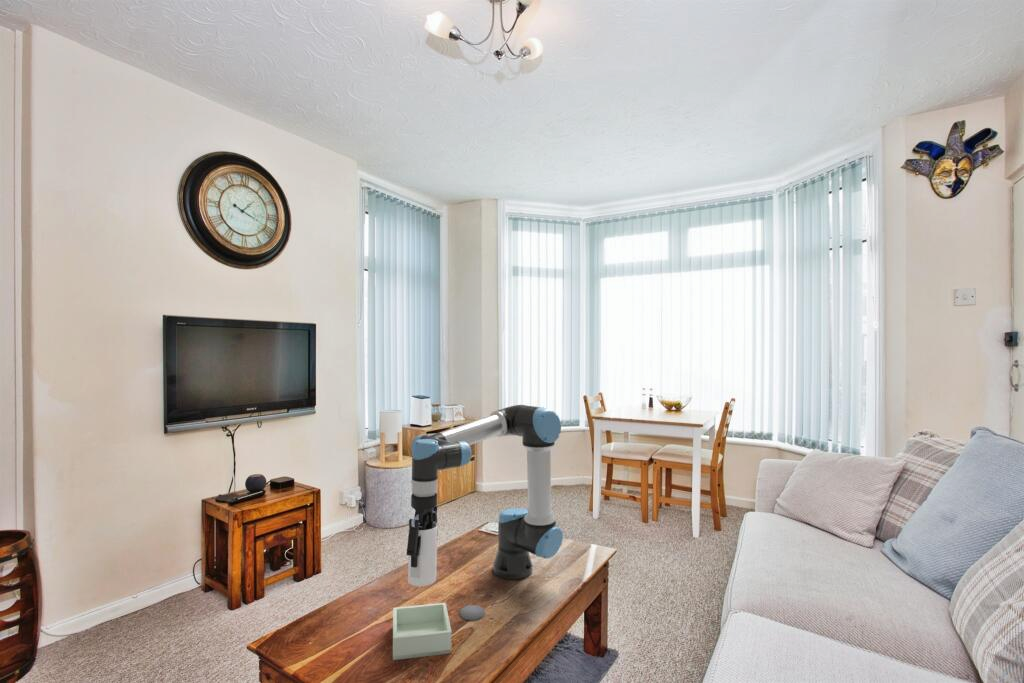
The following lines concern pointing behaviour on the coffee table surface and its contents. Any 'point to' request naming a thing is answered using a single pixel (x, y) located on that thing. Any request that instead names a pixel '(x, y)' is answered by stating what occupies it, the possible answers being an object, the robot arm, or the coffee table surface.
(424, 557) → the cup
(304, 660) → the coffee table surface
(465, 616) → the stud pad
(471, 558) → the coffee table surface
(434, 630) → the bin
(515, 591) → the coffee table surface
